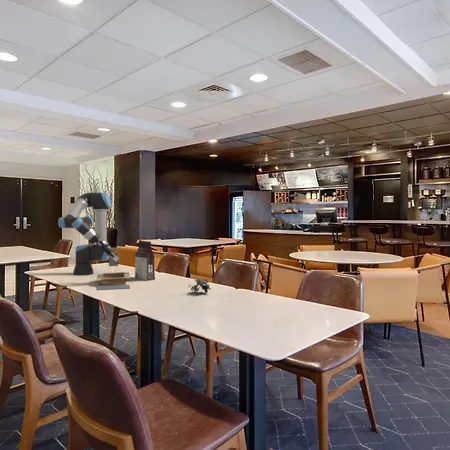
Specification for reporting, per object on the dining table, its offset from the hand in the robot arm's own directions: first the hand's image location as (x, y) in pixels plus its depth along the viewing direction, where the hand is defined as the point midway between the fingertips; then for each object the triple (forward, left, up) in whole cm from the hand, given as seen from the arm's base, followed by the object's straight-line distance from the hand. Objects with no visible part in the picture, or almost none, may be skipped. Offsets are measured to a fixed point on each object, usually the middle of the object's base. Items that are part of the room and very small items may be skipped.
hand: (117, 259), depth 259 cm
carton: (0, -3, -16) cm, 16 cm away
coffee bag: (-10, +19, -16) cm, 27 cm away
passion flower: (+50, +47, -16) cm, 71 cm away
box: (0, -3, -4) cm, 5 cm away
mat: (+19, -3, -16) cm, 25 cm away
